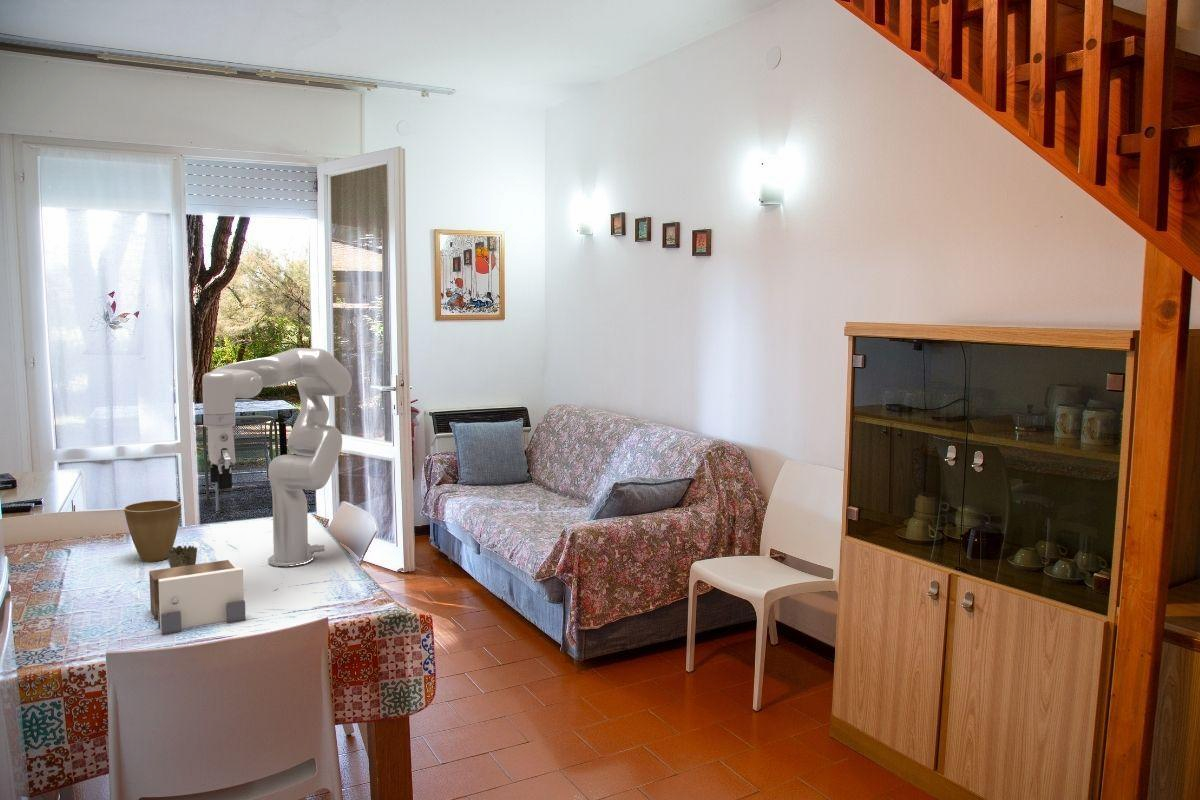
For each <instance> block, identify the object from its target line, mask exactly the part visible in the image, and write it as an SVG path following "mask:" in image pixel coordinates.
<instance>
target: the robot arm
mask: <svg viewBox="0 0 1200 800" xmlns="http://www.w3.org/2000/svg"><path fill="white" fill-rule="evenodd" d="M201 379H202V380H201V381H202V411H203V413H202V415H203V418H202V419H203V427H205V428H207V445H208V446H207V450H208V451H207V452H208V453H207V454H208V459H209V461H210V465H209V466H210V468H209V470H210V471H209V472H210V482H211V483H213V484H214V483H217V487H218V490H229V489H230V490H231V489H232V488H233V473H232V466H231V465H234V464H236V449H235V438H234V437H235V436H234V430H233V429H234V428H233V427H234V426H236V399H252V398H255V397H256V396H258V395H259V394H260V393H261V392H262V389H263V388H270V387H278V386H281V385H284V384H286V383H289V382H291V381H294V380H296V387H297V391H298V394H299V399H300V402H301V403H300V405H301V406H300V411H299V413H298V415H297V418H296V420H295V422H294V424H293V426H292V429H291V431H290V433H289V434H288V435H289V436H288V438H287V443H286V444H287V445H286V446H287V449H288V451H290V452H291V453H292V454H282V455H277V456H275V457H274V458H272V460H271V461H270V463H269V464H268V468H267V471H268V473H267V474H268V480H269V485H270V488H271V497H272V532H273V533H272V534H273V535H272V536H273V537H272V538H273V539H272V541H273V555H270V556H269V557H268V559H267V563H268V564H269V565H270V564H271V565H270V566H273V565H274V566H273V567H278V566H290V565H296V564H300V563H304V562H307V561H309V560H311V559H312V558H313V557H314V554H315V553H320V552H321V553H323V552H325V551H326V548H325V545H324V544H322V545H321V544H320V545H318V544H313V545H311V544H309V536H308V535H309V533H308V532H309V528H308V526H309V525H308V500H307V496H306V493H305V492H304V490H309V491H310V490H311V491H312V490H313V491H318V490H322V489H323V488H324V487H325V486H326V485H327V483H328V482H329V480H330V478H331V476H332V472H333V470H334V469H335V466H336V463H337V461H338V459H339V457H340V454H341V451H342V448H343V435H342V433H341V431H340V430H339V429H338V427H335V426H333V425H329V424H327V423H328V421H329V418H330V411H329V409H328V406H327V403H326V402H325V400H324V396H326V397H343V396H345V395H347V394H348V393H349V392H350V391H351V388H352V384H353V379H352V376H351V374H350V372H349V371H348V370H347V368H346V367H345V366H344V365H343V364H342V363H341V362H340V361H339V360H338V359H337V358H335V356H334V355H332V354H331V353H330V352H328V351H327V350H325V349H321V348H306V347H294V348H291V349H290V348H289V349H287V350H284V351H282V352H277V353H276V354H273V355H269V356H264V357H259V358H254V359H249V360H244V361H238V362H233V363H228V364H225V365H223V366H219V367H217V368H214V369H213V370H212V371H210V372H205V373H204V374H203V376H202V378H201Z"/></svg>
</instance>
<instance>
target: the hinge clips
mask: <svg viewBox="0 0 1200 800" xmlns="http://www.w3.org/2000/svg"><path fill="white" fill-rule="evenodd" d="M226 615H227V620H226V623H227V624H230V623H236V622H241V621H246V620H247V619H246V601H245V599H244V600H243V601H237V602H231V603H226ZM157 627H158V629H160V609H159V608H158V620H157ZM160 632H161V633H160V634H161V635H162V636H163V635H164V636H165V635H169V634H170V635H171V634H173V633H180V632H182V628H181V612H180V611H177V612H171V613H165V614H161V630H160Z"/></svg>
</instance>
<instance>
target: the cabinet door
mask: <svg viewBox="0 0 1200 800" xmlns="http://www.w3.org/2000/svg"><path fill="white" fill-rule="evenodd" d="M158 581H159V609H160V628H159V629H160V631H161V614H165V613H171V612H177V611H180V612H181V629H185V628H191V627H197V626H203V625H207V624H208V625H209V624H213V623H214V624H215V623H218V622H219V623H220V622H227V615H226V603H231V602H237V601H243V600H244V601H245V599H244V598H245V597H244V593H245V592H244V591H245V589H244V588H245V587H244V568H243V567H234V568H232V569H225V570H219V571H212V572H205V573H198V574H191V575H184V576H177V577H170V578H164V579H158Z"/></svg>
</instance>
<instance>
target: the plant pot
mask: <svg viewBox="0 0 1200 800" xmlns="http://www.w3.org/2000/svg"><path fill="white" fill-rule="evenodd" d="M181 510H182V502H181V501H178V500H168V499H166V500H165V499H164V500H163V499H160V500H149V501H141V502H136V503H135V502H134V503H132V504H128V505H126V506H124V508H123V511H124V515H125V519H126V523H127V527H128V530H129V535H130V537H131V540H132V542H133V545H134V547H135V550H136V551H137V554H138V556H139V558H140V560H141V561H142V562H148V563H151V562H160V561H161V562H162V561H164V560H167V559H168V553H167V551H168V549H169V550H170V551H172V548H173V547H174V545H175V542H176V537H177V533H178V528H179V523H180V519H181V518H180V517H181Z"/></svg>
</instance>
